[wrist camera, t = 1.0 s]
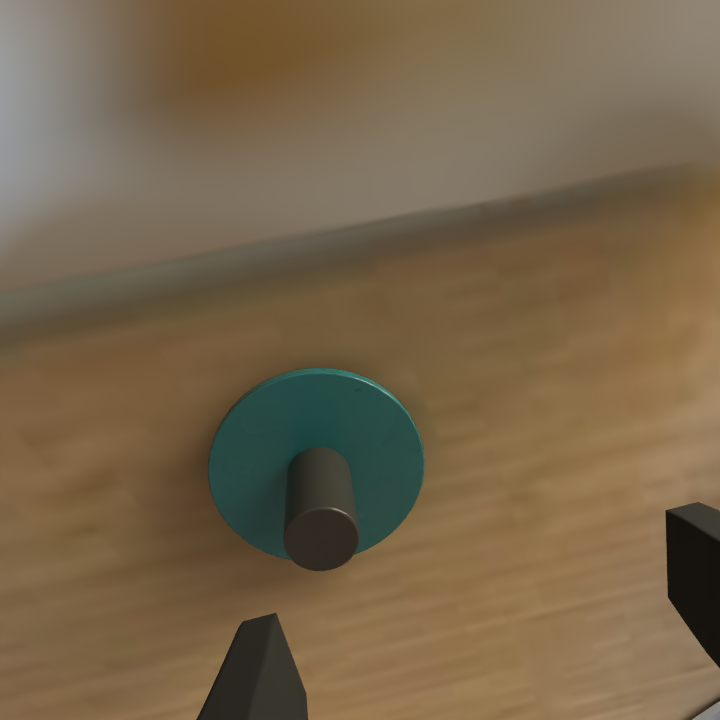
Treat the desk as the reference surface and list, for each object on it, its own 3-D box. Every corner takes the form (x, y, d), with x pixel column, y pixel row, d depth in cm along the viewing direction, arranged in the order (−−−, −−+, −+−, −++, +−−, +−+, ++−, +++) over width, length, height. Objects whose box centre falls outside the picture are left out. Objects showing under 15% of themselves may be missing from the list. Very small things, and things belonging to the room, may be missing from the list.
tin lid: (458, 457, 20) (503, 536, 15) (314, 575, 21) (317, 681, 16) (322, 317, 17) (328, 363, 13) (168, 458, 18) (125, 545, 14)
